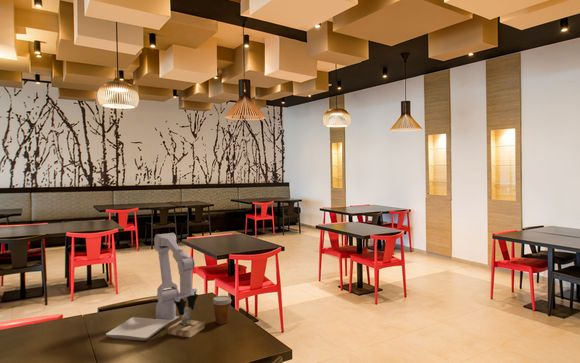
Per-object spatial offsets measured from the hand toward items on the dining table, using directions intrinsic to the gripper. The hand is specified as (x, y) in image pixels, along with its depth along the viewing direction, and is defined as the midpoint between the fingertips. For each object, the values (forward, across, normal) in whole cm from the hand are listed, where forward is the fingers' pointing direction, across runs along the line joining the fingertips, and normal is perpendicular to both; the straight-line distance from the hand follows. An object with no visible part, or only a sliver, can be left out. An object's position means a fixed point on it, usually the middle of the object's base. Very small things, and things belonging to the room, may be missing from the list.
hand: (186, 312), depth 186 cm
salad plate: (+10, -9, +20) cm, 24 cm away
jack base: (+9, 0, 0) cm, 9 cm away
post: (+5, 0, 0) cm, 5 cm away
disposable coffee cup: (+9, +16, -10) cm, 21 cm away
